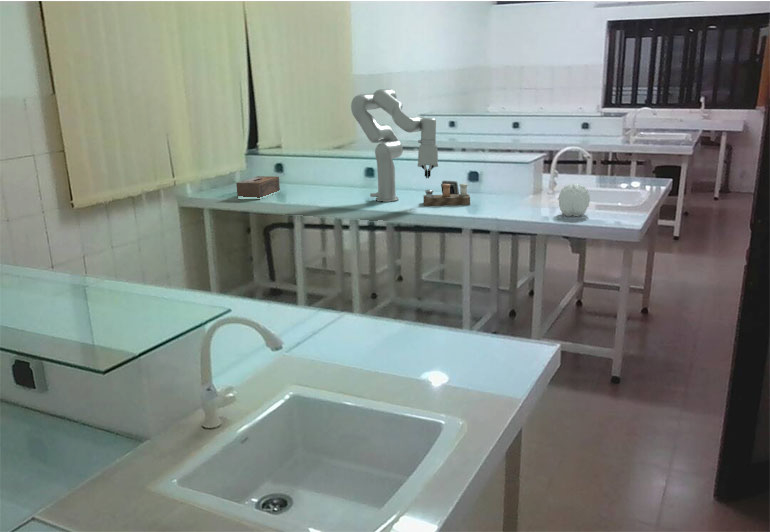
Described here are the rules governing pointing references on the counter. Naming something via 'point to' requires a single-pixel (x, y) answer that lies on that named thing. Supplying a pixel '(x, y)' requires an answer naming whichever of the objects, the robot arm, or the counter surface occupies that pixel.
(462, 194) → the plug ivory
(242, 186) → the tissue box cover
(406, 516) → the counter surface
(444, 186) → the plug terracotta
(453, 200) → the socket board
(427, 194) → the plug grey
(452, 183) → the electrical switch
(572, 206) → the brain
